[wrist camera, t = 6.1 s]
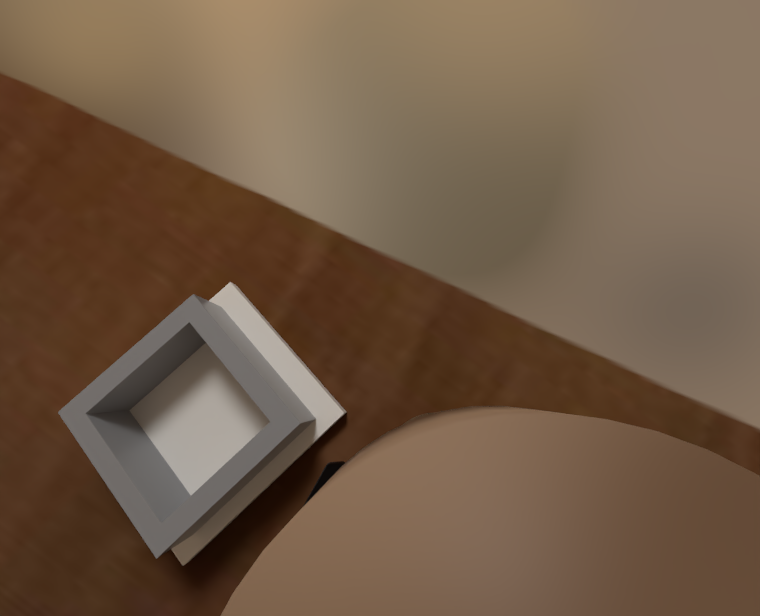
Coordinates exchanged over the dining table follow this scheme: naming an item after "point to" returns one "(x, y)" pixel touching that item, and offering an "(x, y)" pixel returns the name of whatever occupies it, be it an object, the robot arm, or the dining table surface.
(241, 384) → the plate
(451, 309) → the dining table surface
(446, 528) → the maple knob
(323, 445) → the dining table surface
